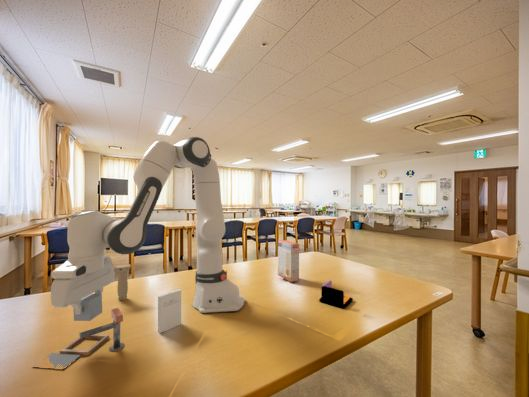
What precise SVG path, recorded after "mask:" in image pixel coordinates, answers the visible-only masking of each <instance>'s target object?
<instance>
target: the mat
mask: <svg viewBox="0 0 529 397" xmlns="http://www.w3.org/2000/svg"><path fill="white" fill-rule="evenodd" d="M80 356H81V354H60V352H58V353H57V352H55V353H54V352H51V353H50V354H49V355H46V357H49V361H50V363H51V362H52V363H53V365H54V367H55V368H56V366H57V365H58V364H59V365H60V364H61V365H62V366H63V368H64V367H66V366H68V365H69V364H70V363H72V362H73V361H74V360H76V359H77V358H78V359H79V357H80ZM81 357H82V356H81ZM81 357H80V358H81ZM47 359H48V358H47ZM78 359H77V360H78ZM77 360H76V361H77ZM52 363H51V364H52ZM73 363H74V362H73ZM73 363H72V364H73ZM61 365H60V366H61ZM60 366H59V367H60ZM62 366H61V367H62ZM57 367H58V366H57ZM68 367H69V366H68ZM63 368H62V369H63Z"/></svg>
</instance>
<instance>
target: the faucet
mask: <svg viewBox="0 0 529 397" xmlns="http://www.w3.org/2000/svg"><path fill="white" fill-rule="evenodd" d="M111 318H112V319H113V321H112V322H110V323H107V324H105V325H104V324H103V325H101V326H98V327H95V328H92V329H89V330H85V331H81V332H79V334H78V335H79V337H80V339H82V338H85V337H88V336H91V335H94V334H100V333H103V332H106V331H109V330H112V329H113V336H112V339H113V344H112V345H113V348H118V347H119V346H120V343H121V323H122V322H124V315H123V312H122V311H121V310H120V309H119V307H116V308H113V309H111ZM79 337H78V338H79Z"/></svg>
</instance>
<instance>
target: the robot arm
mask: <svg viewBox="0 0 529 397" xmlns="http://www.w3.org/2000/svg"><path fill="white" fill-rule="evenodd" d="M174 168H176V169H186V168H190V169H191V171H192V174H193V186H194V188H193V190H194V200H195V210H196V216H197V219H196V222H195V243H196V245H195V246H196V271H195V278H194V279H195V290H194V291H195V293H194V297H193V301H192V306H193V308H195V309H197V310H198V311H199V313H201V314H202V313H204V314H205V313H219V312H220V313H222V312H236V311H239V310H240V309H242V308H243V306H244V304H245V296H244V295H242V294H240V289H239V287H238V285H237V284H235V283H234V282H233V281H231V280H230V279H229V278H227V277H228V271H227V270H224V269H223V248H222V239H223V238H224V236H225V234H226V224H225V215H224V210H223V204H222V196H221V193H222V192H221V183H220V182H221V181H220V172H219V166H218V164H217V162H216V161H215V159H213V158H212V154H211V150H210V147H209V145H208V143H207V141H205V140H204V139H203V138H201V137H199V136H192V137H188V138H185V139H182V140H180V141H179V142H177V143H175V144H171V143H170V142H167V141H166V140H157V141H155V142H154V143H153V144H152V145H151V146H150V147H149V148H147V150H146V151H145V153H144V154H143V155H142V157H141V158H140V160H139V162H138V163H137V165H136V168H135V170H134V174H133V181H134V183H135V186H137V193H136V196H135V198H134V199H133V202H132V204H131V206H130V208H129V210H128V212H127V213H126V215H125V217H124V218H117V217H113V216H110V215H107V214H105V213H103V212H101V211H100V210H87V211H81V212H77V213H75V214H73V215H72V216H71V217H70V218H69V220H68V224H67V235H66V236H67V244H68V247H69V252H68V254H67V260H65V261H64V262H63V263H62V264H60V265H59V266H58V267H56V268H55V269H54V270H52V271H51V273H50V277H51V278H52V279H54V280H53V281H52V283H51V287H50V301H51V306H53V307H54V308H67V307H69V306H71V307H72V308H74V309H73V311H74V310H75V314H81V313H82V312H84V306H81V305H80V303H81V299H82V298H84V297H86V296H88V295H90V294H102V295H103V292H104V287H106V286H108V285H110V284H112V283H114V281H115V278H116V272H115V270H114V267H115V266H114V263H113V262H112V261H113V260H112V258H111V257H109V256H107V255H106V256H105V249H108V248H109V249H111V250H112V251H114V252H115V253H116V254H120V255H130V254H133V253H135V252H137V251H138V250H140V249H141V248H142V247H143V245H144V244H145V241H146V239H147V230H148V228H147V227H148V224H149V221H150V219H151V216H152V214H153V212H154V209H155V207H156V205H157V203H158V200H159V198H160V196H161V192H162V190H163V188H164V186H165V184H166V183H167V181H168V179H169V177H170V175H171V173H172V171H173V170H174Z"/></svg>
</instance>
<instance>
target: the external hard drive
mask: <svg viewBox="0 0 529 397" xmlns="http://www.w3.org/2000/svg"><path fill="white" fill-rule="evenodd" d="M181 324H182V289H180V288H179V289H173V290H171V291H169V292H165V293H162V294H159V295H157V333H159V334H161V333H162V334H163V333H164V332H167V331H168V330H171V329H173V328H175V327H178V326H180V325H181Z"/></svg>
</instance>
